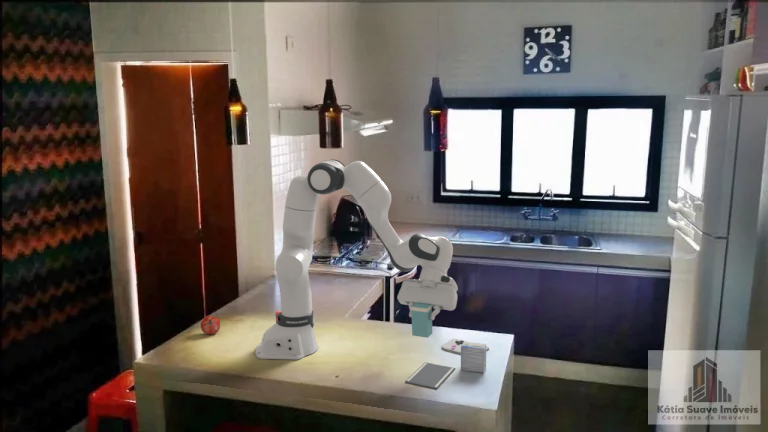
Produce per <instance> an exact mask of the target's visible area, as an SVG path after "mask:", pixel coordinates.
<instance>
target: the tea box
mask: <svg viewBox="0 0 768 432" xmlns="http://www.w3.org/2000/svg"><path fill="white" fill-rule="evenodd" d="M411 312H412V317H411V333H412V334H411V335H412V336H413V337H421V338H427V339H428V338H430V336H431V335H432V334H433V320H429V318H428V317H429V313H432V312H433V308H432V305H430V304H422V303H415V304H414V305H413V306H411Z"/></svg>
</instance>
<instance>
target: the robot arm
mask: <svg viewBox="0 0 768 432" xmlns="http://www.w3.org/2000/svg"><path fill="white" fill-rule="evenodd" d="M341 189H345V190H346V191H348V192H349V193H350V194H351V196H352V197H354V199H355V201H357V203H358V204H359V206H360V208H361V209H362V211H363V212H364V214H365V216H366V219H367V221H368V224H369V226H370V227H371V228H372V230H373V232H374V233H375V235H376V236H377V238H378V239H379V241H380V242H381V244H382V245H383V247H384V248H385V250H386V251H387V254H388V257H389V260H390V262H391V263H392V265H393V266H394V267H395V269H396V270H398V271H400V272H404V273H405V272H406V273H407V272H410V271H412V270H414V269H415V268H416V267H417V266H421V271H420V275H419V278H418V279H416V278H414V279H413V278H407V279H406V280H405V279H404V281H402V283H401V287H400V289H399V291H398V294H397V300H398V302H399V303H400V304H401V305H406V306H408V309H409V313H408V316H409V318H412V312H411V306H413V305H414V304H415V303H422V304H430V305H432V309H434V310H432V313H429V317H428V318H429V320H432V321H434V320H435V318H436V316H437V315H438V314H440V312H441V310H447V311H450V312H451V311H454V310H455V309H456V308H457V304H458V303H457V302H458V294H457V292H458V290H459V288H458V285H457V283H456V281H455V279H453V278H452V277H451V276H448V270H449V268H450V267H451V263H452V259H453V252H454V246H453V244H452V242H451V241H450V240H449V239H448V238H447V237H444V236H443V235H442V236H441V235H436V236H427V235H425V234H423V233H416V234H413V235H411V236H409V237H408V238H407V239H405V240H402V239H401V238H400V237H399V234H397V232H396V231H395V229H394V227H393V226H392V223H390V221H389V210H390V206H391V204H392V194H391V191H390V190H389V188H388V187H387V184H386V183H385V182H384V181H383V180H382V179H381V177H380V176H379V175H378V174H377V173H376V172H375V171H374V170H373V168H371V167H370V166H369V165H368V164H367V163H365V162H364V161H362V160H355V161H353V162H352V161H351V162H350V163H349V164H347V165H345V164H344V163H343V162H342V161H340V160H338V159H327V160H323V161H320V162H319V163H316V164H314V165H313V166H312V167H311V168H310V170H309V171H308V174H307V175H298V176H295V177H293V178H292V179H291V181H290V183H289V186H288V190H287V194H286V198H285V205H284V213H283V221H282V222H283V223H282V249H281V252H280V253H279V254H278V256H277V258H276V259H275V260H276V261H275V272H276V277H277V283H278V287H279V293H280V294H279V295H280V310H276V311H275V323H274V324H273V325H272V326H270V327H269V328H268V329H266V330H265V331H264V333H263V335H262V338H261V340H260V341H261V342H260V343H259V344H257V346H256V347H255V354H254V355H255V357H257V359H259V360H260V359H261V360H265V359H266V360H301V359H302V358H304V357H307V356H308V355H311V354H313V353H316V352H317V351H318V349H319V345H318V343H317V340H316V335H315V329H314V326H315V315H314V310H313V303H312V302H313V301H312V300H313V299H312V296H313V295H312V289H311V285H310V276H309V268H310V265H311V263H312V260H313V251H314V235H315V227H316V218H317V212H318V211H317V210H318V202H319V199H320V198H319V197H320V196H321V195H322V196H323V195H330V194H332V193H335V192H336V191H337V192H338V191H339V190H341Z"/></svg>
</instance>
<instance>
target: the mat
mask: <svg viewBox="0 0 768 432" xmlns="http://www.w3.org/2000/svg"><path fill="white" fill-rule="evenodd" d="M455 370H456V368H455V367H451V366H446V365H441V364H435V363H429V362H424V363H423V364H422V365H421V366H419V368H418V369H417V370H415V371H414V372H413V373H412V374H411V375H410V376H409V377H408V378H407V379H406V380H405V381H404V382H405V383H406V384H409V385H410V384H411V385H414V386H415V385H416V386H419V387H425V388H430V389H434V390H438V389H439V388H440V387H441V385H442V384H443V383H445V381H446V380H447V379H448V378H449V377H450V376H451V375H452V374H453V372H454V371H455Z"/></svg>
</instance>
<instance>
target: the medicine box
mask: <svg viewBox="0 0 768 432" xmlns="http://www.w3.org/2000/svg"><path fill="white" fill-rule="evenodd" d="M486 346H487V344H486V343H481V342H472V341H471V342H470V341H467V342H463V344H462V345H461V354H460V370H461V371H466V372H474V373H483V374H484V373H485V372H486V369H487V351H486Z"/></svg>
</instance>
